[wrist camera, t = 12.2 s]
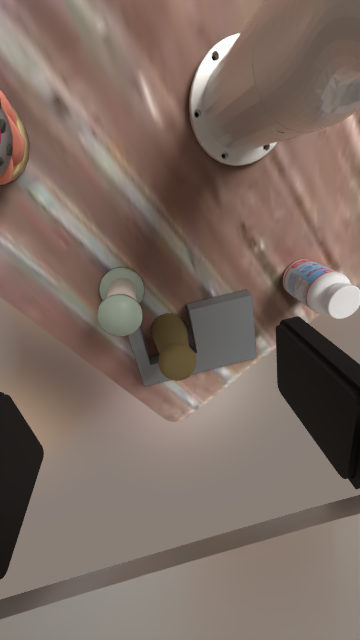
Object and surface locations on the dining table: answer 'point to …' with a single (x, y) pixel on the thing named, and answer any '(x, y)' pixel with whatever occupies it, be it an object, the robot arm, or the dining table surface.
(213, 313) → the gray block
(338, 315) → the pill bottle
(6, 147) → the cake
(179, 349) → the cork
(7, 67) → the dining table surface
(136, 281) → the bobbin post
